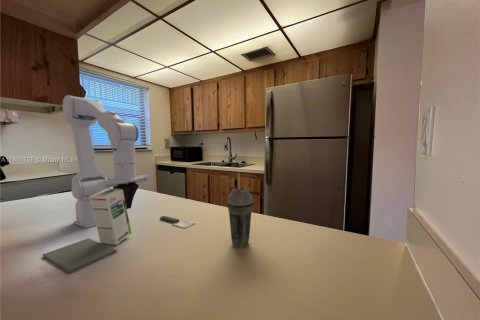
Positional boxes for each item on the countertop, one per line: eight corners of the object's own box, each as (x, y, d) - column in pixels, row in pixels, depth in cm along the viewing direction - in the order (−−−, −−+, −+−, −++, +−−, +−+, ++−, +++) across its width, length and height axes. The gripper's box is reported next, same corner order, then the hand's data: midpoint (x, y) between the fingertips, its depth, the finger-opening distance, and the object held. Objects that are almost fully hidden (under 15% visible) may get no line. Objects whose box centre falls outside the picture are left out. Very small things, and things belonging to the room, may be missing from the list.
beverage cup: (256, 240, 59) (256, 171, 58) (249, 252, 52) (249, 174, 51) (232, 236, 61) (232, 170, 60) (223, 248, 55) (222, 173, 53)
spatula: (156, 221, 74) (156, 218, 74) (167, 217, 79) (167, 214, 78) (185, 228, 67) (185, 225, 67) (195, 223, 72) (195, 220, 72)
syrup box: (117, 245, 56) (107, 196, 53) (99, 243, 57) (88, 195, 54) (131, 233, 62) (123, 188, 58) (115, 231, 63) (106, 187, 60)
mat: (43, 256, 51) (42, 254, 51) (88, 240, 60) (88, 238, 60) (69, 273, 44) (69, 270, 44) (116, 252, 53) (116, 249, 53)
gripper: (107, 166, 53) (109, 217, 54) (154, 162, 66) (156, 203, 67) (92, 165, 56) (95, 213, 57) (140, 161, 69) (142, 201, 70)
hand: (127, 208), depth 62 cm, fingers closed
